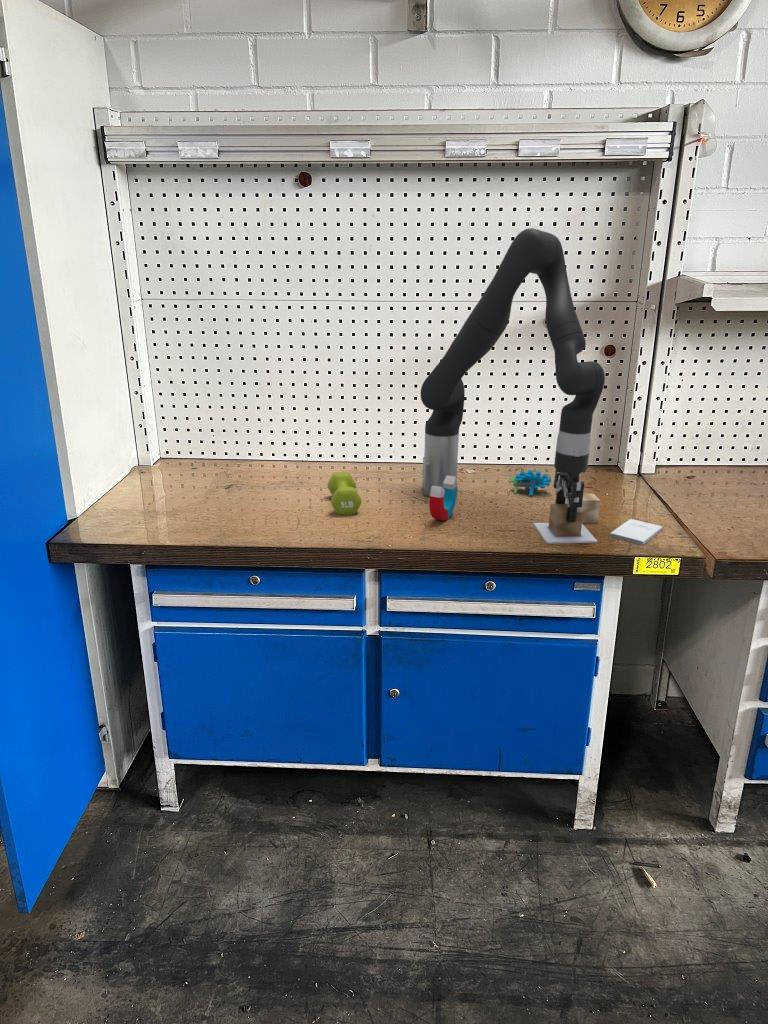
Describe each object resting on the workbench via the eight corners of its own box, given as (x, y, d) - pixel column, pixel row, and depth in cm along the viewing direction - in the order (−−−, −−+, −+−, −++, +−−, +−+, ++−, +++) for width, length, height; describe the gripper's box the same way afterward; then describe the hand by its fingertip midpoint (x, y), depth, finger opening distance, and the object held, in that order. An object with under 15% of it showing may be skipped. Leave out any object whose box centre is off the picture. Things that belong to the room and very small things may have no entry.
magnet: (446, 510, 181) (448, 474, 178) (456, 512, 180) (458, 475, 176) (428, 525, 172) (429, 487, 168) (438, 527, 170) (440, 488, 167)
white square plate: (546, 543, 161) (547, 541, 161) (533, 524, 172) (533, 522, 172) (597, 542, 162) (597, 541, 162) (580, 523, 173) (580, 522, 173)
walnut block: (555, 536, 164) (558, 512, 162) (548, 527, 170) (550, 504, 168) (580, 536, 165) (583, 512, 162) (572, 526, 170) (575, 503, 168)
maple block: (577, 523, 174) (580, 500, 172) (571, 515, 178) (574, 494, 176) (597, 522, 174) (600, 500, 172) (590, 515, 179) (593, 493, 177)
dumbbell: (327, 496, 192) (326, 471, 189) (356, 495, 193) (355, 470, 190) (331, 517, 176) (330, 490, 174) (362, 516, 177) (362, 489, 175)
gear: (554, 484, 196) (548, 467, 188) (552, 503, 194) (546, 486, 186) (515, 485, 201) (508, 468, 193) (513, 503, 198) (505, 487, 190)
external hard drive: (608, 538, 166) (629, 524, 175) (642, 547, 161) (661, 532, 170) (609, 532, 165) (629, 518, 174) (643, 541, 160) (662, 525, 169)
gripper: (548, 441, 166) (541, 504, 172) (566, 458, 153) (558, 526, 159) (578, 441, 167) (571, 504, 172) (599, 458, 153) (590, 526, 159)
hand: (564, 515), depth 166 cm, fingers open, 8 cm apart
